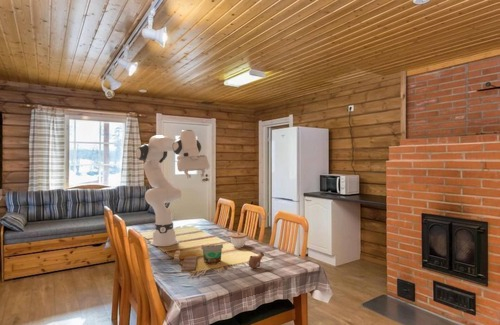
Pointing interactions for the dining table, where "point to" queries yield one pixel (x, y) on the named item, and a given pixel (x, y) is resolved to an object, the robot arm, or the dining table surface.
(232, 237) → the lidded jar
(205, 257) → the food container
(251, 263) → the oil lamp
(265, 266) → the dining table surface
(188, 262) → the wooden board
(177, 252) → the turner
